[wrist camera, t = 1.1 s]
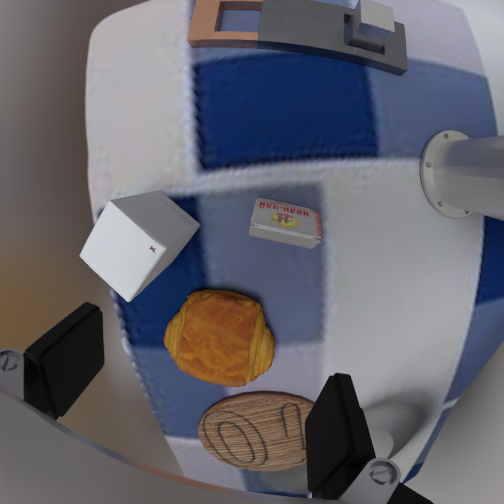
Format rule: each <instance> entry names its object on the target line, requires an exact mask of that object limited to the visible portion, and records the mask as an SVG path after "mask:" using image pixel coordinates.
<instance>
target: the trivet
mask: <svg viewBox="0 0 504 504" xmlns="http://www.w3.org/2000/svg"><path fill="white" fill-rule="evenodd" d="M314 404H315V402H312V401H310V400H308V399H306V398H304V397H302V396H298V395H294V394H289V393H285V392H276V391H254V392H243V393H239V394H236V395H232V396H228V397H225V398H223V399H222V400H220V401H218V402H216V403H214V404H212V405H211V406H210V407H209V408H208V409H207V410H206V411H205V412H204V414H203V416H202V419H201V421H200V424H199V428H198V431H199V439H200V441H201V443H202V444H203V446H204V448H205V449H206V450H207V451H208V452H209V453H210V454H212V455H213V456H214V457H216V458H218V459H219V460H221V461H223V462H224V463H227V464H230V465H232V466H235V467H238V468H243V469H247V470H254V471H278V470H285V469H289V468H294V467H297V466H300V465H302V464H305V463H307V459H306V441H305V420H306V418H307V416H308V414H309V413H310V411H311V409H312V407H313V406H314Z"/></svg>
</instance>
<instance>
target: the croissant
mask: <svg viewBox="0 0 504 504" xmlns="http://www.w3.org/2000/svg"><path fill="white" fill-rule="evenodd" d="M187 298H188V300H187V301H186V302H185V303H184V304H183V306H182V307H181V309H180V312H179V313H177V314H176V315H175V316H174V317H173V319H172V320H171V321H170V323H169V324H168V327H167V329H166V332H165V337H164V340H163V341H164V343H165V346H166V347H167V348H168V352H169V353H170V355H171V356H172V357H173V359H174V362H175V363H177V365H178V368H179V369H180V370H182V371H184V372H186V373H188V374H189V375H192V376H194V377H195V378H198V379H200V380H203V381H206V382H209V383H214V384H220V385H224V386H228V387H240V386H245V385H246V383H248V382H251V381H254V380H255V379H256V378H257V377H259V376H260V374H263V373H264V372H265V371H268V370H269V368H270V367H271V365H272V361H273V357H274V349H275V345H274V336H273V335H272V334H271V333H270V330H269V328H268V327H267V326H265V319H264V316H263V311H262V310H263V309H264V308H262V307H260V304H259V303H256V302H255V301H254V300H252V299H250V298H248V297H246V296H243V295H240V294H237V293H233V292H229V291H225V290H210V289H208V290H202V291H198V292H194V293H192V294H191V295H189V296H187Z"/></svg>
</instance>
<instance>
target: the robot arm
mask: <svg viewBox="0 0 504 504" xmlns="http://www.w3.org/2000/svg"><path fill="white" fill-rule="evenodd" d="M426 165H427V166H426ZM420 167H421V180H422V185H423V188H424V192H425V194H426V196H427V198H428V200H429V202H430V203H431V205H432V206H433V207H434V208H435V209H436V210H437V211H438V212H439V213H441V214H442V215H444V216H447V217H450V218H454V219H461V218H465V217H467V216H469V215H470V214H472V213H473V212H474V213H478V214H482V215H485V216H489V217H492V218H496V219H499V220H503V221H504V136H492V137H482V138H472V139H470V138H469V137H468V136H466V135H465V134H463V133H461V132H458V131H455V130H446V131H442V132H439V133H437V134H436V135H434V136H433V137H432V138H431V139H430V140H429V141H428V143H427V144H426V146H425V148H424V151H423V154H422V158H421V166H420ZM437 203H438V204H437ZM25 351H26V352H25V353H24V354H23V355H22V354H21V352H19V351H18V350H16V349H14V348H3V349H0V504H433V503H432V502H431V501H430V500H428V499H426V498H425V497H423V496H421V495H420V494H418V493H416V492H415V491H413V490H412V489H410V488H408V487H407V486H405V485H404V484H402V483H401V482H399V481H400V478H401V472H400V470H399V468H398V466H397V465H396V464H395V463H394V462H392V461H391V460H389V459H386V458H376V456H375V452H374V448H373V444H372V440H371V437H370V433H369V430H368V426H367V423H366V419H365V416H364V412H363V410H362V408H360V406H359V402H358V399H357V395H356V392H355V389H354V385H353V382H352V379H351V376H350V375H348V374H342V373H335V374H334V376H329V378H328V380H327V382H326V384H325V386H324V387H323V389H322V391H321V393H320V395H319V397H318V398H317V400H316V402H315V404H314V406H313V407H312V409H311V411H310V413H309V414H308V416H307V418H306V420H305V441H306V459H307V480H308V490H309V491H311V492H312V498H322V499H310V498H295V497H285V496H276V495H267V494H260V493H253V492H247V491H241V490H235V489H230V488H225V487H221V486H216V485H212V484H208V483H204V482H200V481H196V480H192V479H189V478H185V477H181V476H178V475H175V474H172V473H169V472H166V471H162V470H160V469H157V468H154V467H151V466H148V465H146V464H143V463H140V462H138V461H135V460H133V459H130V458H128V457H126V456H123V455H121V454H119V453H116V452H114V451H112V450H110V449H108V448H105V447H103V446H101V445H99V444H97V443H95V442H93V441H91V440H89V439H87V438H85V437H83V436H81V435H80V434H78V433H76V432H74V431H72V430H71V429H69V428H67V427H65V426H64V425H62V424H60V423H58V422H57V421H56V420H57V419H58V417H59V416H61V417H62V416H64V415H65V414H66V412H67V411H68V409H69V408H70V407H71V406H72V405H73V403H74V402H75V401H76V399H77V398H78V397H79V396H80V394H81V393H82V392H83V391H84V390H85V388H86V387H87V386H88V385H89V383H90V382H91V381H92V380H93V378H94V377H95V376H96V375H97V373H98V372H99V371H100V370H101V369H102V367H103V365H104V343H103V314H102V312H101V311H100V308H99V307H98V306H96V305H94V304H91V303H89V302H85V303H84V304H82V305H81V306H80V307H79V308H77V309H76V310H75V311H74V312H72V313H71V314H69V315H68V316H67V317H66V318H64V319H63V320H62V321H60V322H59V323H58V324H57V325H55V326H54V327H53V328H52V329H50V330H49V331H48V332H47V333H45V334H44V335H43V336H42V337H41V338H39V339H38V340H37V341H35V342H34V343H33V344H32V345H31V346H29V347H28V348H27V349H26V350H25ZM45 414H46V415H45Z"/></svg>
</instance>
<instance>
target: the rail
mask: <svg viewBox="0 0 504 504" xmlns="http://www.w3.org/2000/svg"><path fill="white" fill-rule="evenodd" d="M223 10H256V11H261V17H260V24H259V31H258V32H229V31H219V28H220V23H221V18H222V13H223ZM353 11H354V9H351V8H347V7H342V6H338V5H333V4H328V3H322V2H316V1H310V0H197V1H196V5H195V9H194V13H193V17H192V21H191V26H190V30H189V35H188V39H187V40H188V42H189V43H190V45H191V46H192V48H195V47H241V48H259V49H272V50H282V51H290V52H298V53H305V54H312V55H318V56H323V57H329V58H334V59H339V60H343V61H348V62H352V63H356V64H360V65H364V66H368V67H372V68H376V69H379V70H383V71H386V72H389V73H392V74H396V75H399V76H400V75H402V74H403V73H405V72H406V71H407V53H406V39H405V28H404V24H401V23H398V22H395V21H394V28H395V33H394V34H393V35H392V36H391V37H390V38H389V39H388V40H387V41H386V42H385V44H384V45H383V46H382V47H381V48H380V49H379V50H378V53H375V52H371V51H368V50H364V49H360V48H356V47H352V46H348V45H344V23H347V22H348V20H349V19H350V17H351V15H352V13H353Z"/></svg>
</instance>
